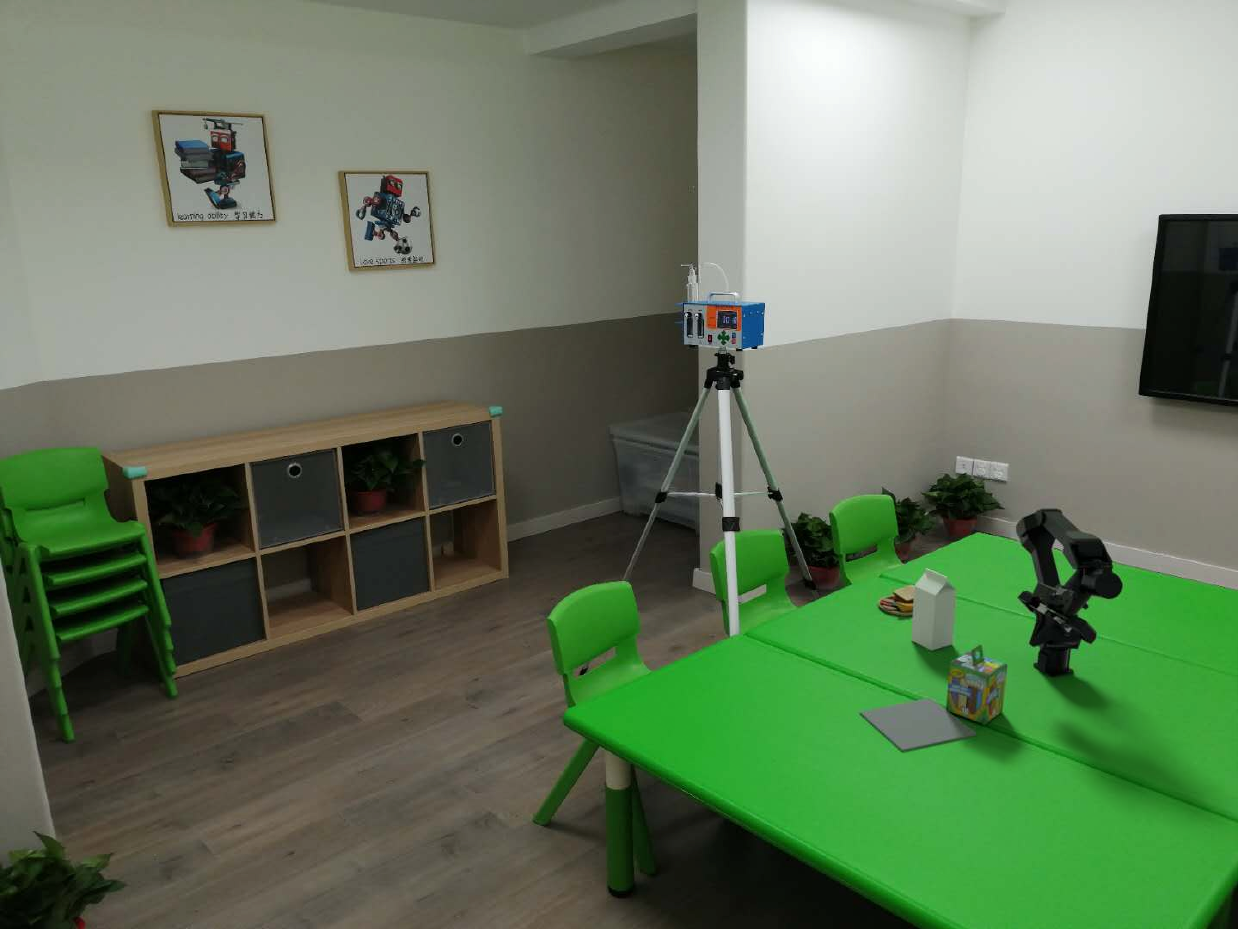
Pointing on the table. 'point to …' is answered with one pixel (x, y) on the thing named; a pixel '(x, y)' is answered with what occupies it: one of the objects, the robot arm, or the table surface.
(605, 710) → the table surface
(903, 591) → the toy sandwich meal
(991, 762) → the table surface
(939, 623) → the milk carton
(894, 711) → the topple mat
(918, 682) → the table surface
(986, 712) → the chalk box
